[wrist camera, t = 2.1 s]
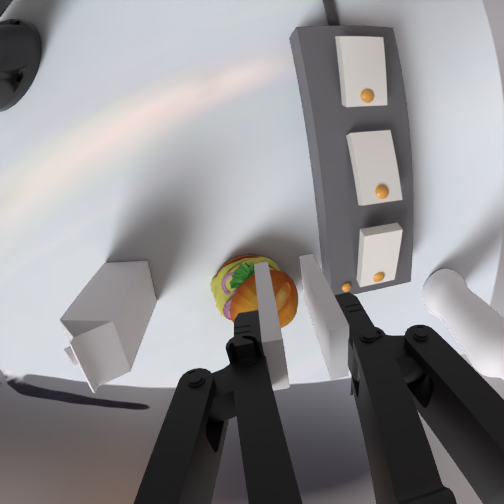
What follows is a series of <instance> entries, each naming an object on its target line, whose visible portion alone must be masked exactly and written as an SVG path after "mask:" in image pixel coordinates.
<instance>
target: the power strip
mask: <svg viewBox="0 0 504 504" xmlns="http://www.w3.org/2000/svg"><path fill="white" fill-rule="evenodd" d="M323 3H324V7H325V11H326V15H327V19H328V23H329V26H307V27H296V28H295V30H294V32H293V33H292V35H291V36H290V43H291V48H292V53H293V58H294V63H295V68H296V73H297V79H298V84H299V90H300V96H301V102H302V107H303V114H304V120H305V126H306V133H307V139H308V146H309V153H310V160H311V168H312V175H313V183H314V191H315V200H316V209H317V218H318V228H319V238H320V248H321V260H322V272H323V274H324V276H325V278H326V280H327V282H328V284H329V286H330V288H331V290H332V292H333V294H334V295H338V294H342V293H347V292H350V293H351V294H358V293H362V292H367V291H372V290H376V289H381V288H385V287H389V286H394V285H398V284H402V283H406V282H411V268H412V250H413V173H412V155H411V142H410V130H409V121H408V112H407V104H406V96H405V90H404V83H403V77H402V71H401V65H400V60H399V55H398V50H397V45H396V40H395V36H394V32H393V28H388V27H373V26H340V23H339V19H338V15H337V11H336V7H335V3H334V0H323ZM335 36H365V37H383V41H384V52H385V65H386V81H387V105H381V106H359V107H345V106H343V105H342V99H341V87H340V76H339V66H338V56H337V48H336V40H335ZM383 130H390V131H391V135H392V140H393V145H394V150H395V156H396V161H397V167H398V173H399V179H400V186H401V192H402V200H397V201H391V202H384V203H377V204H370V205H364V206H362V205H358V198H357V192H356V186H355V180H354V174H353V168H352V162H351V157H350V152H349V147H348V142H347V137H346V135H348V134H349V133H356V132H368V131H383ZM392 223H398V224H399V225H400V227H401V228H402V229H403V231H402V238H401V245H400V251H399V257H398V263H397V269H396V274H395V279H394V280H391V281H387V282H382V283H378V284H373V285H368V286H364V287H360V286H359V284H358V282H357V280H356V279H357V267H358V253H359V236H360V229H363V228H369V227H375V226H381V225H387V224H392Z"/></svg>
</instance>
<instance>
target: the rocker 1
mask: <svg viewBox="0 0 504 504" xmlns="http://www.w3.org/2000/svg"><path fill="white" fill-rule="evenodd" d="M335 40H336V48H337V56H338V66H339V76H340V87H341V99H342V105H343V106H345V107H359V106H381V105H387V81H386V65H385V52H384V41H383V37H365V36H335Z"/></svg>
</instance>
